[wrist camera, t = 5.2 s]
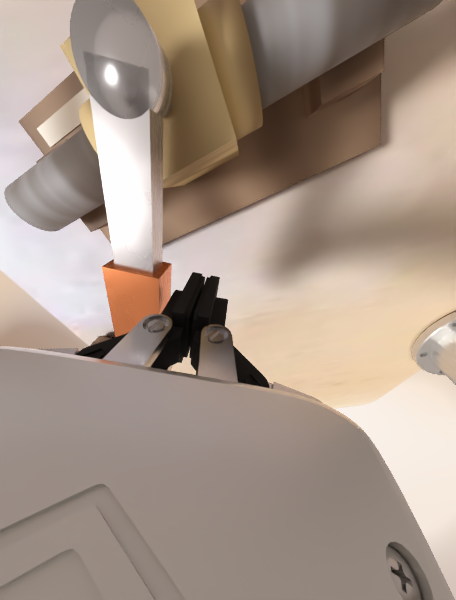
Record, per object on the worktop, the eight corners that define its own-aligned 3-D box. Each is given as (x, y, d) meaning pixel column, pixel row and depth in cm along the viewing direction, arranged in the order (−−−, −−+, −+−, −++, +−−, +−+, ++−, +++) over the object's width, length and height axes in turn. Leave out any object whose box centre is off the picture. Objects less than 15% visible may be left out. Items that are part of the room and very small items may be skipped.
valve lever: (180, 38, 6) (158, -10, 4) (168, 348, 14) (159, 369, 12) (95, 13, 6) (41, -47, 4) (133, 341, 14) (120, 362, 12)
